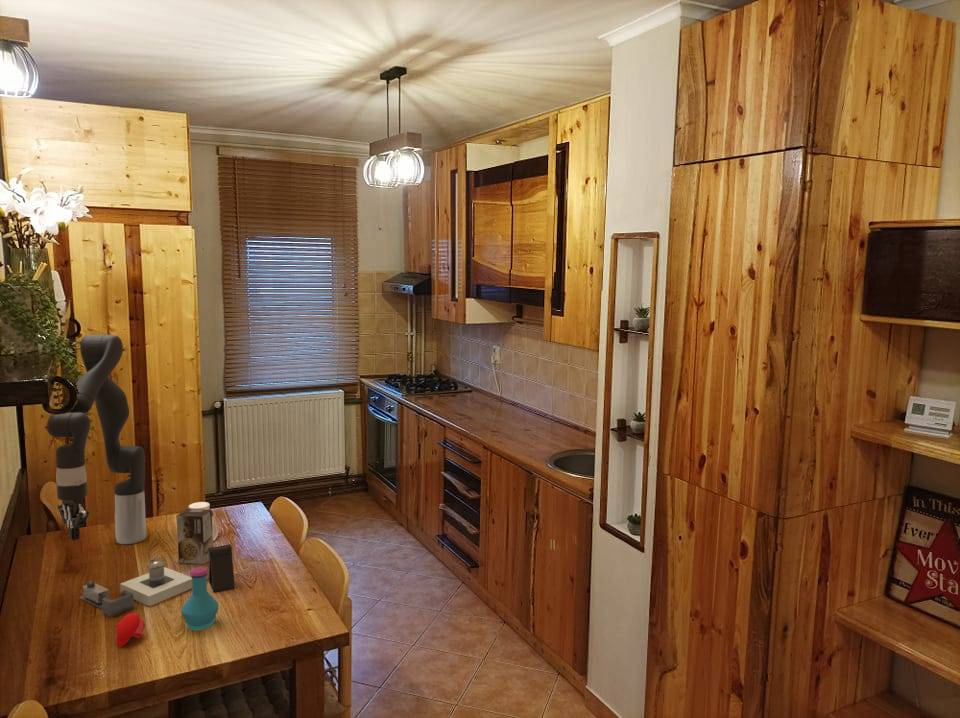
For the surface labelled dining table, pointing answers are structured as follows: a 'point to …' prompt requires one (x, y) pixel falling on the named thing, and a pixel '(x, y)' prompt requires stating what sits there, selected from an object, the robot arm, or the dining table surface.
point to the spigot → (156, 572)
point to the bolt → (95, 592)
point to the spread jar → (206, 507)
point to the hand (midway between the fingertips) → (74, 539)
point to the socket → (151, 596)
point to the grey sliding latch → (114, 604)
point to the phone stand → (221, 568)
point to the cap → (129, 628)
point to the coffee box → (194, 535)
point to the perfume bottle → (199, 603)
